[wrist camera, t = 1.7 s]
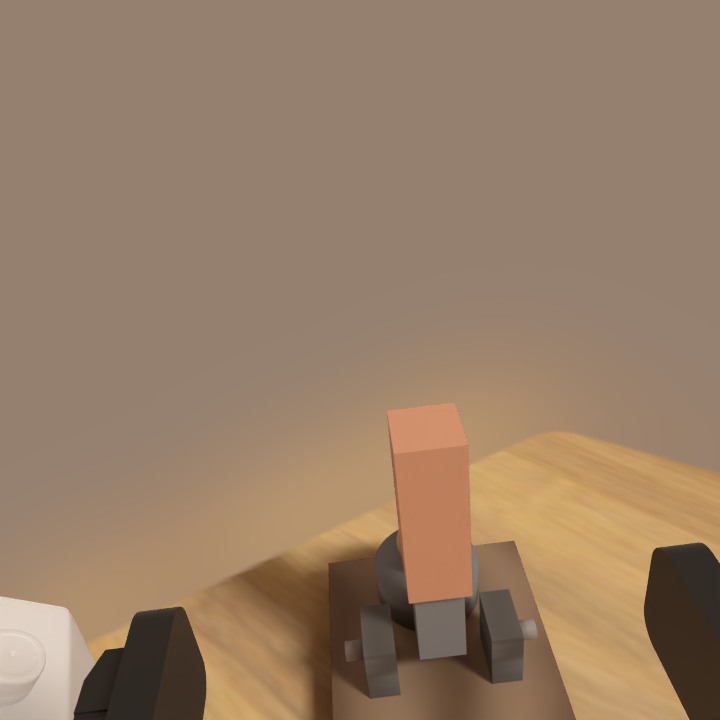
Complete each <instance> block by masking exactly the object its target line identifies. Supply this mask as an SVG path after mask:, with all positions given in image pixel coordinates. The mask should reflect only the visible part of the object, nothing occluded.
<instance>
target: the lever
mask: <svg viewBox="0 0 720 720" xmlns="http://www.w3.org/2000/svg"><path fill="white" fill-rule="evenodd" d="M387 418H388V428H389V438H390V447H391V457H392V466H393V476H394V486H395V495H396V505H397V515H398V525H399V534H400V544H401V553H402V561H403V567H404V574H405V581H406V587H407V594H408V601H409V604H411V603H413V611H414V621H415V630H416V636H417V643H418V649H419V656H420V660H423V659H432V658H440V657H448V656H457V655H465V654H467V651H466V625H465V598H464V597H469V596H473V594H472V559H471V524H470V488H469V456H468V455H469V454H468V443H467V440H466V436H465V433H464V430H463V427H462V424H461V421H460V418H459V414H458V411H457V408H456V405H455V403H447V404H439V405H431V406H422V407H415V408H406V409H398V410H389V411H387Z"/></svg>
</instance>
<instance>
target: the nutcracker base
mask: <svg viewBox="0 0 720 720" xmlns="http://www.w3.org/2000/svg"><path fill="white" fill-rule="evenodd" d="M471 559H472V594H473V596H469V597H464V598H465V625H466V651H467V654H465V655H457V656H448V657H440V658H432V659H423V660H420V656H419V649H418V643H417V636H416V630H415V621H414V611H413V603H411V604H409V601H408V594H407V587H406V581H405V574H404V567H403V561H402V553H401V544H400V534H399V530H398V531H396V532H394V533H393V534H391V535H390V536H389V537H387V538H386V539H385V541H384V542H383V543H382V544H381V546H380V547H379V549H378V551H377V554H376V558H369V559H360V560H352V561H344V562H336V563H329V599H330V635H331V672H332V709H333V720H576V718H575V715H574V713H573V710H572V707H571V704H570V701H569V698H568V695H567V692H566V689H565V686H564V684H563V681H562V678H561V675H560V672H559V669H558V666H557V663H556V660H555V658H554V655H553V652H552V649H551V646H550V643H549V640H548V637H547V634H546V631H545V629H544V626H543V623H542V620H541V617H540V614H539V611H538V608H537V605H536V603H535V600H534V597H533V594H532V591H531V588H530V585H529V582H528V579H527V576H526V574H525V571H524V568H523V565H522V562H521V559H520V556H519V553H518V550H517V548H516V545H515V542H514V541H509V542H500V543H492V544H484V545H476V546H473V545H472V544H471Z"/></svg>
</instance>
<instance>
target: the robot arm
mask: <svg viewBox="0 0 720 720" xmlns="http://www.w3.org/2000/svg"><path fill="white" fill-rule="evenodd" d="M644 617H645V623H646V628H647V631H648V635H649V638H650V640H651V643H652V645H653V647H654V649H655V651H656V653H657V655H658V657H659V659H660V661H661V663H662V665H663V667H664V669H665V671H666V673H667V675H668V677H669V679H670V681H671V683H672V685H673V687H674V689H675V691H676V693H677V695H678V697H679V699H680V701H681V703H682V705H683V707H684V709H685V711H686V713H687V715H688V717H689V719H690V720H720V563H719V562H718V560H717V559H716V557H715V556H714V554H713V553H712V552H711V550H710V549H709V548H708V547H707V546H706V545H705V544H703V543H692V544H684V545H676V546H668V547H660V548H656V549H655V550H654V551H653V553H652V558H651V565H650V571H649V578H648V584H647V591H646V597H645V603H644ZM205 700H206V673H205V666H204V661H203V658H202V656H201V653H200V650H199V647H198V645H197V642H196V639H195V636H194V634H193V631H192V628H191V625H190V623H189V620H188V617H187V614H186V612H185V610H184V608H182V607H174V608H166V609H158V610H150V611H142V612H138V613H136V614H135V616H134V617H133V619H132V622H131V626H130V629H129V633H128V637H127V640H126V644H125V648H118V649H110V650H105V651H104V653H103V654H102V656H101V657H100V658H99V660H98V661H97V663H96V664H95V665H94V667H93V668H92V670H91V671H90V672H89V674H88V675H87V677H86V678H85V679H84V682H83V685H82V688H81V691H80V694H79V698H78V701H77V704H76V707H75V710H74V713H73V714H74V719H73V720H203V714H204V707H205Z"/></svg>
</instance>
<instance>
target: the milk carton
mask: <svg viewBox="0 0 720 720" xmlns="http://www.w3.org/2000/svg"><path fill="white" fill-rule="evenodd" d="M95 664H96V663H95V661H94V659H93V657H92V655H91V653H90V651H89V649H88V647H87V645H86V643H85V641H84V638H83V636H82V634H81V632H80V631H79V628H78V627H77V625H76V623H75V621H74V619H73V617H72V615H71V614H70V612H69V611H68V609H67V608H64V607H59V606H53V605H48V604H41V603H36V602H30V601H24V600H18V599H12V598H6V597H1V596H0V720H73V719H74V714H73V713H74V710H75V707H76V704H77V701H78V698H79V694H80V691H81V688H82V685H83V682H84V679H85V678H86V677H87V675H88V674H89V672H90V671H91V670H92V668H93V667H94V665H95Z"/></svg>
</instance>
